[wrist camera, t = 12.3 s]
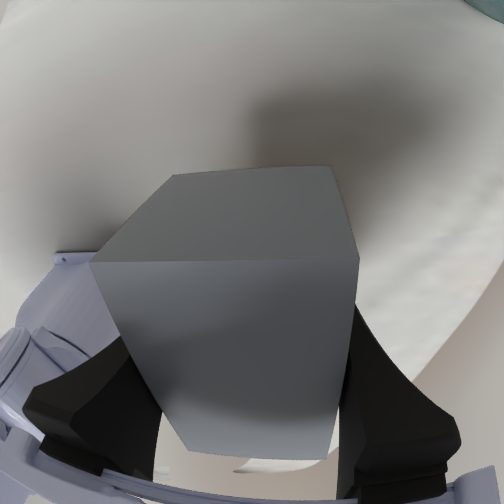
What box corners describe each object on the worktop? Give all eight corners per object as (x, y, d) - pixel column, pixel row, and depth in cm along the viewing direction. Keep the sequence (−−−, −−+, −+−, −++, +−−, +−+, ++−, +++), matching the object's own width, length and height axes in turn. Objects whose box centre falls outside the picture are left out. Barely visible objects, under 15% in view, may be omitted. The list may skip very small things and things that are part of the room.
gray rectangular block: (215, 352, 18) (188, 450, 12) (172, 175, 13) (88, 262, 7) (324, 353, 17) (326, 459, 12) (330, 164, 12) (359, 257, 6)
